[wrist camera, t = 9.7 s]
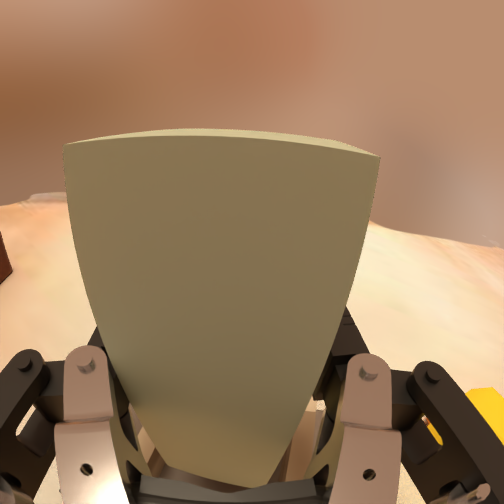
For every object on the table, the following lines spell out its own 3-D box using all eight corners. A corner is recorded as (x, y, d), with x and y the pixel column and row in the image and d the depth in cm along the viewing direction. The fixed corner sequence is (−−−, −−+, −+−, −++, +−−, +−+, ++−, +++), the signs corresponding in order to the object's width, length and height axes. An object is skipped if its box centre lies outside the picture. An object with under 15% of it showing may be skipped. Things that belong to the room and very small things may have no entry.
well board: (67, 495, 8) (34, 477, 6) (138, 374, 20) (127, 341, 18) (344, 569, 5) (375, 571, 4) (356, 420, 17) (377, 391, 15)
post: (167, 465, 9) (62, 144, 3) (196, 398, 13) (180, 128, 7) (263, 490, 8) (380, 157, 3) (278, 415, 12) (338, 141, 7)
